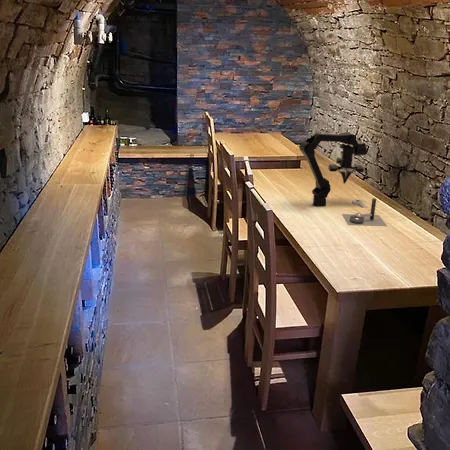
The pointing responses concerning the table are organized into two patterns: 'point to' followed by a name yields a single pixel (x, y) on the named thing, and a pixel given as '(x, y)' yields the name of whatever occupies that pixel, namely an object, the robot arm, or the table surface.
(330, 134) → the robot arm
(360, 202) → the adjustable wrench
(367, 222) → the level stand
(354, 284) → the table surface
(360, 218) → the crank handle
